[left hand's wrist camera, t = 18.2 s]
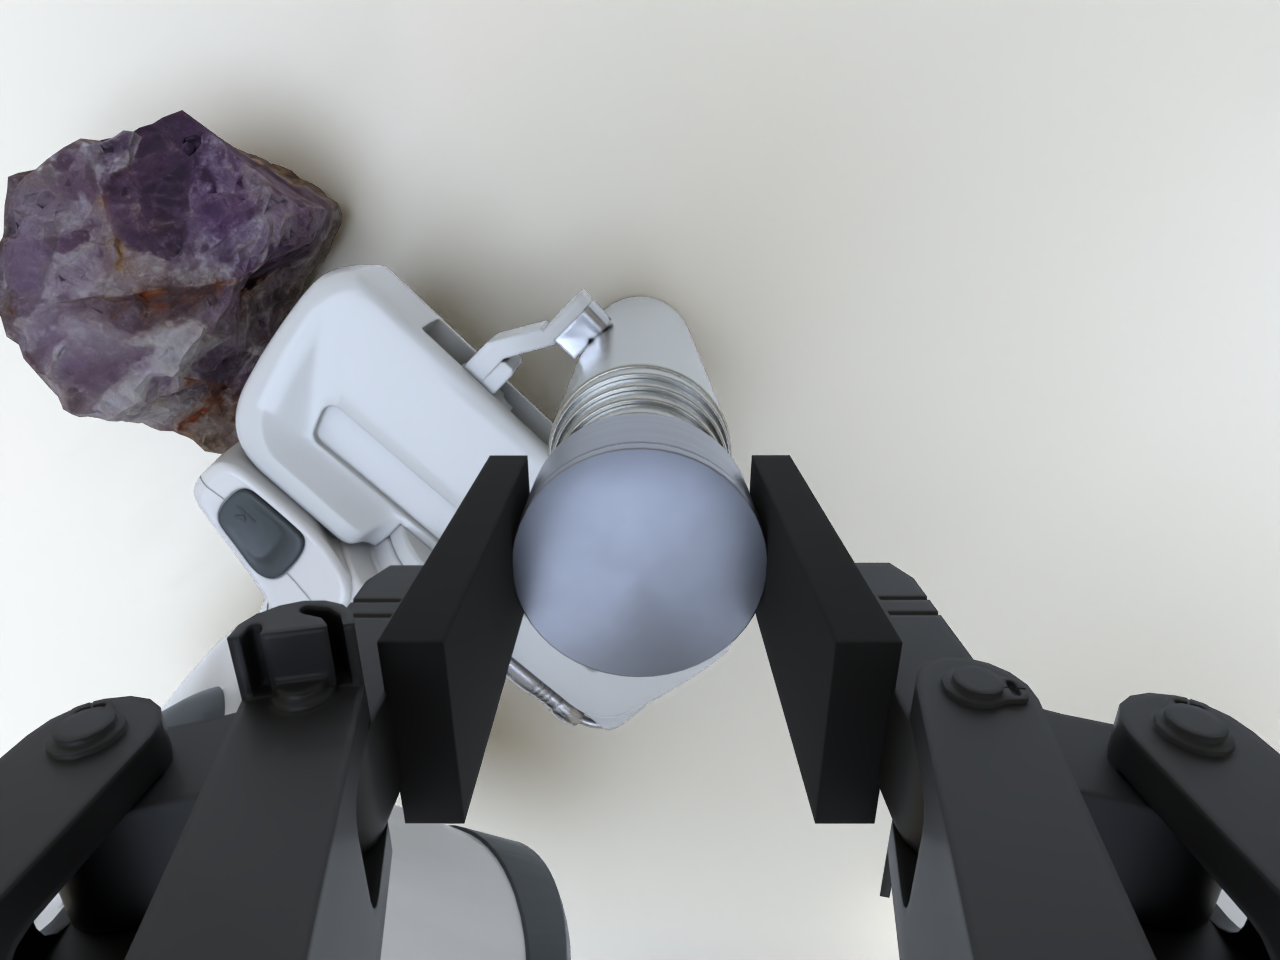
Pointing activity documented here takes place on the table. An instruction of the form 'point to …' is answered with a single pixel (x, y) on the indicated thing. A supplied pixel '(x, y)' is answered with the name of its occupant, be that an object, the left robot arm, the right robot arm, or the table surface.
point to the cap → (639, 547)
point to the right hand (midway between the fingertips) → (656, 365)
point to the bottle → (640, 374)
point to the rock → (156, 273)
